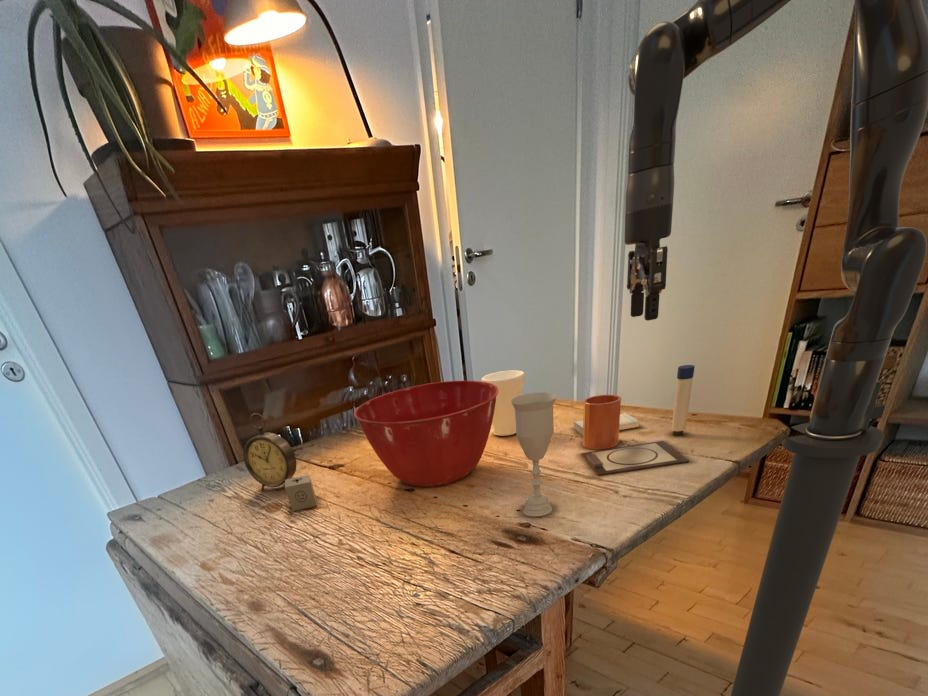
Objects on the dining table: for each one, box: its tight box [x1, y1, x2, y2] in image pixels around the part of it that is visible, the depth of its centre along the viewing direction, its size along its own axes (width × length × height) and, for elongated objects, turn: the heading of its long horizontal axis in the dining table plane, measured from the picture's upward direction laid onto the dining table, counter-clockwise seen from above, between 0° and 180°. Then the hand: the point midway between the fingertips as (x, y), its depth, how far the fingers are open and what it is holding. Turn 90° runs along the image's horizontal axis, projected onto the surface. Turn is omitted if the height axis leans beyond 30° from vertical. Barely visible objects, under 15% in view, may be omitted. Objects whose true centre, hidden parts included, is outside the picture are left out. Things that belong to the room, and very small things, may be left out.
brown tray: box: [580, 440, 690, 477], centre depth 102 cm, size 17×13×1 cm
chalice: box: [511, 392, 557, 517], centre depth 84 cm, size 7×7×18 cm
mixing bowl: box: [353, 380, 498, 488], centre depth 105 cm, size 28×28×15 cm
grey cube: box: [284, 474, 318, 512], centre depth 106 cm, size 5×5×5 cm
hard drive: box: [573, 412, 640, 436], centre depth 119 cm, size 2×8×12 cm
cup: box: [480, 369, 525, 436], centre depth 123 cm, size 10×10×13 cm
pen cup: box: [582, 394, 622, 450], centre depth 109 cm, size 7×7×9 cm
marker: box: [671, 364, 696, 437], centre depth 106 cm, size 3×3×13 cm
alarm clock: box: [242, 412, 297, 491], centre depth 113 cm, size 11×5×16 cm, turn 74°
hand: (643, 317), depth 96 cm, fingers open, 8 cm apart
